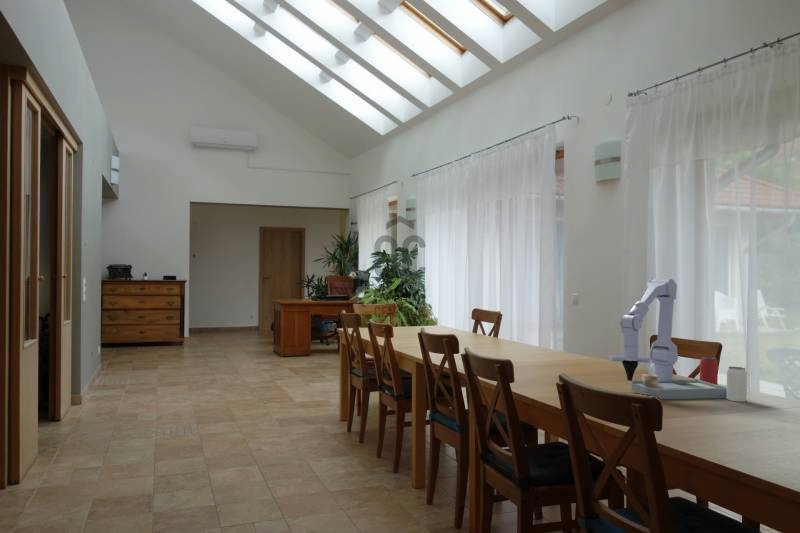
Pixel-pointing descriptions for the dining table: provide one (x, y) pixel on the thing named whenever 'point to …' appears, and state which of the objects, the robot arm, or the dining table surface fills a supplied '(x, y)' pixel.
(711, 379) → the beer can
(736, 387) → the can
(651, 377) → the block
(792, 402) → the dining table surface
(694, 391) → the trap box
